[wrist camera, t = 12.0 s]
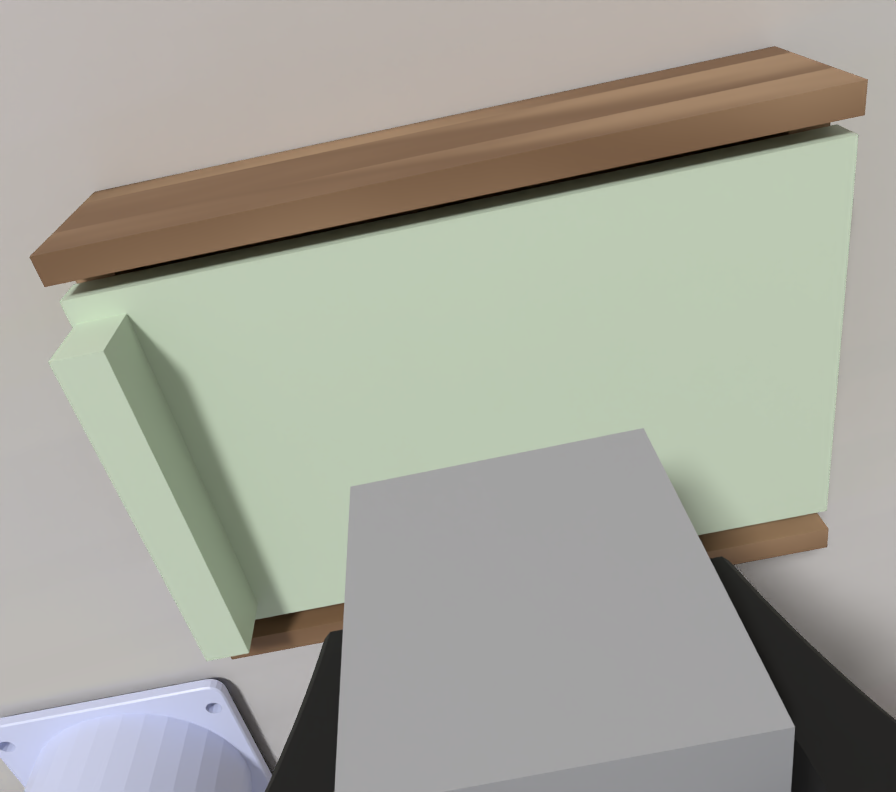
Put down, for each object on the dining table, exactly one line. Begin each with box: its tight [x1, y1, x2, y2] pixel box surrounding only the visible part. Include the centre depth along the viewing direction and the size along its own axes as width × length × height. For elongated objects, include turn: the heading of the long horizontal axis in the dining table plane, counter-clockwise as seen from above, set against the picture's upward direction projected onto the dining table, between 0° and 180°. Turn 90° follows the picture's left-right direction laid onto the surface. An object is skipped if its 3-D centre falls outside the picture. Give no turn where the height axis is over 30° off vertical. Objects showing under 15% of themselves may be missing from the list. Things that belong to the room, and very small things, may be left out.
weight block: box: [335, 428, 795, 792], centre depth 11 cm, size 4×4×5 cm
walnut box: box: [30, 46, 868, 659], centre depth 18 cm, size 11×15×4 cm
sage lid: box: [48, 125, 858, 661], centre depth 17 cm, size 9×15×2 cm, turn 101°
